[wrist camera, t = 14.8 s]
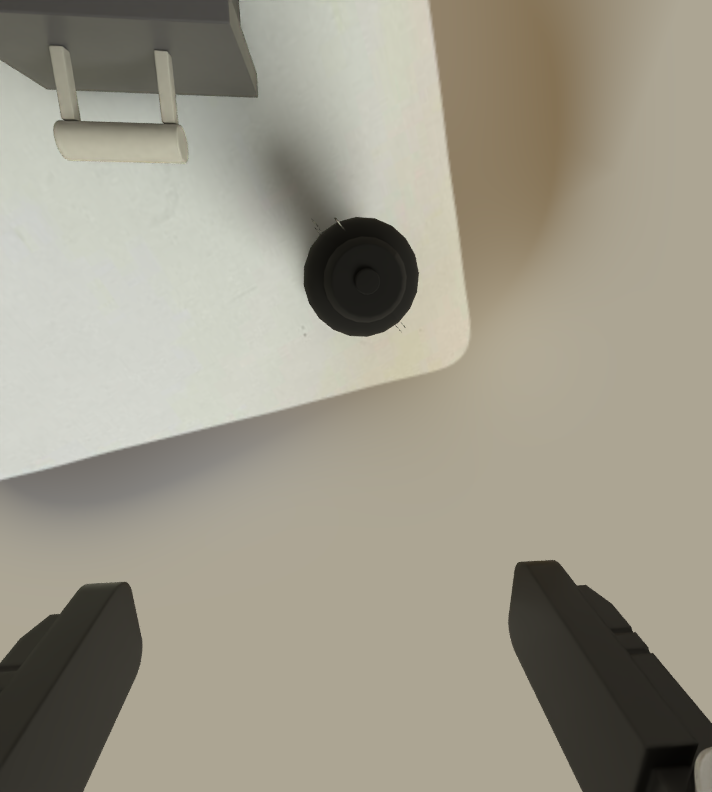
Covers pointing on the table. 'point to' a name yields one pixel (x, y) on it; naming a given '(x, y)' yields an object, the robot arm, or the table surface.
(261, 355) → the table surface
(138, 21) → the open grey drawer
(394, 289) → the gumball machine
